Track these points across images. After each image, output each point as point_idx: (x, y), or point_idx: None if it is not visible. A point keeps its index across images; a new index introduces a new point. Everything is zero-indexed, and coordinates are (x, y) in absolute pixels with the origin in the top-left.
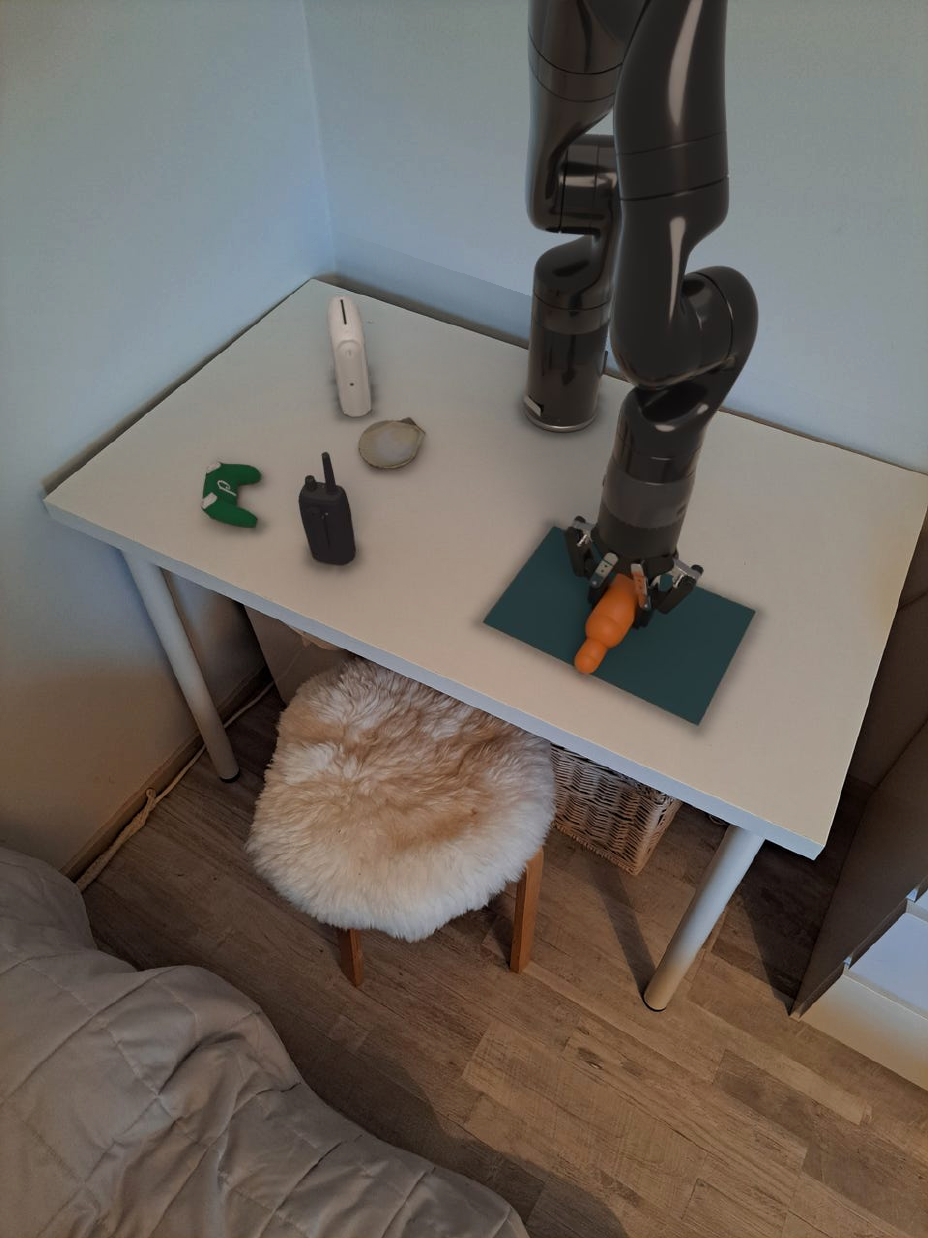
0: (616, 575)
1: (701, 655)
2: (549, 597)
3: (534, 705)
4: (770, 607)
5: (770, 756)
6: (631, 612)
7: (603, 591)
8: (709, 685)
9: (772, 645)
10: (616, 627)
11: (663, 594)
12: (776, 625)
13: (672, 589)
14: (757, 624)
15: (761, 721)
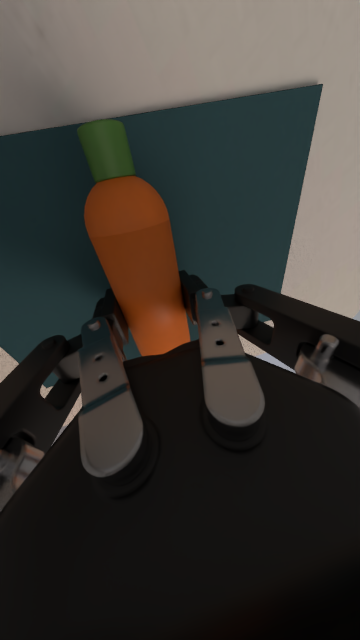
0: (105, 271)
1: (259, 253)
2: (55, 322)
3: None
4: (347, 35)
5: (330, 296)
6: (183, 319)
7: (123, 323)
8: (276, 280)
9: (342, 153)
10: None
11: (238, 315)
12: (353, 92)
13: (277, 343)
14: (321, 119)
15: (324, 274)
